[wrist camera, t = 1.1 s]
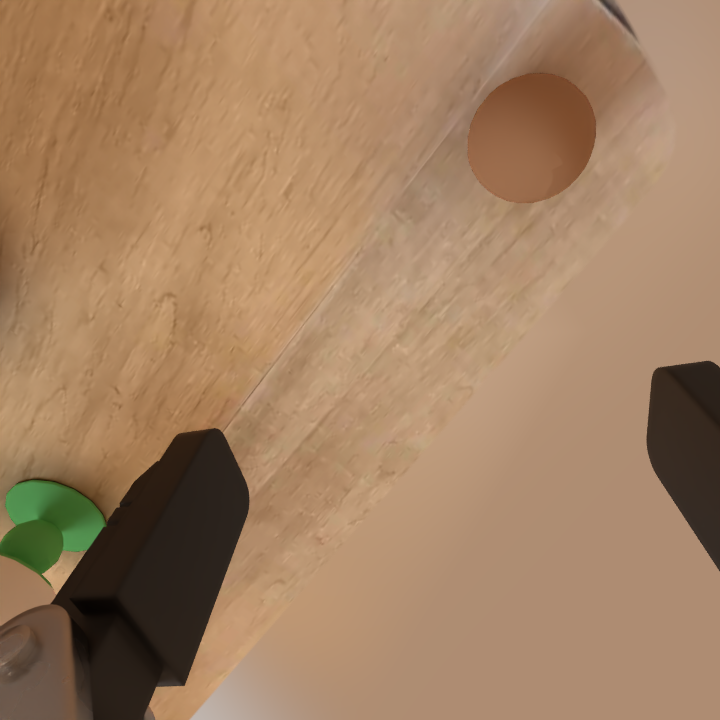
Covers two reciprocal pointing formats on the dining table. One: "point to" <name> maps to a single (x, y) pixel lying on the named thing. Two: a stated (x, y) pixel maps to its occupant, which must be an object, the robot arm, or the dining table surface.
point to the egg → (531, 138)
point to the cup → (41, 540)
